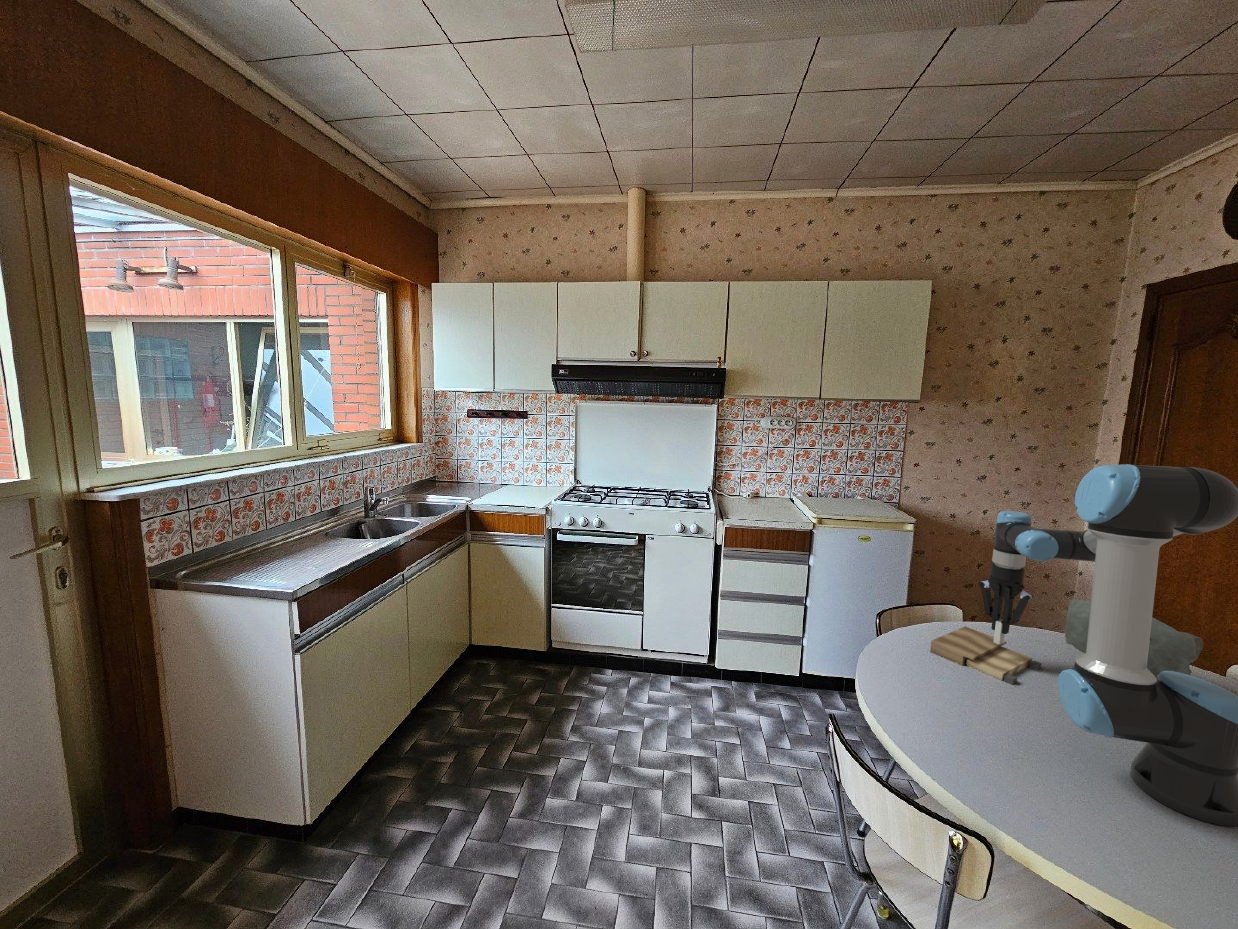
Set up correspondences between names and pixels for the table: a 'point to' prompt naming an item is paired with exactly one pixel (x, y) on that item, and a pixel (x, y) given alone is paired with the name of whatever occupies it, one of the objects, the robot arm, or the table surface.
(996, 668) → the plank
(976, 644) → the board
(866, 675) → the table surface
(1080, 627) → the rock
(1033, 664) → the spacers
